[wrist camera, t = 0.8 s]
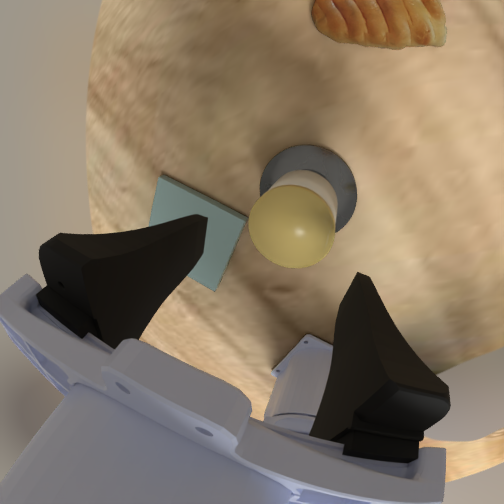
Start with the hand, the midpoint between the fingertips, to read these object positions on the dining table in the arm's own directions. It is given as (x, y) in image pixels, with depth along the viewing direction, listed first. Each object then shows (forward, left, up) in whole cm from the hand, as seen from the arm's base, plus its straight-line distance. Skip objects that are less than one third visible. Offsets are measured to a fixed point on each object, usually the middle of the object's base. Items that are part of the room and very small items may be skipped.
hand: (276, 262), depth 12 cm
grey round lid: (0, 0, -10) cm, 10 cm away
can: (0, 0, -8) cm, 8 cm away
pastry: (+16, +1, -11) cm, 19 cm away
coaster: (-9, +8, -10) cm, 16 cm away
